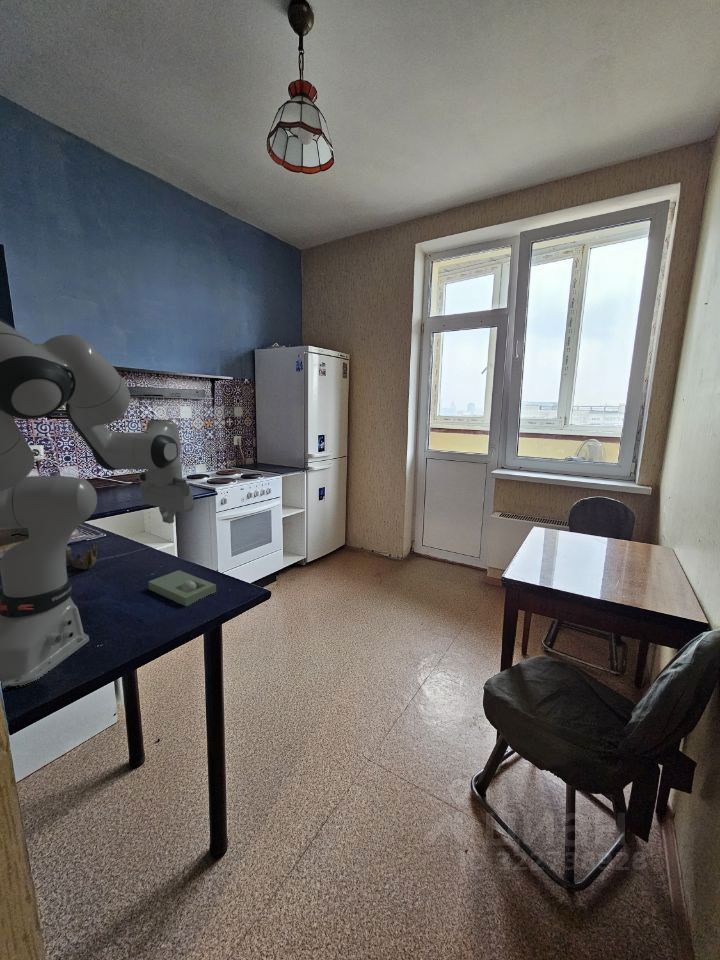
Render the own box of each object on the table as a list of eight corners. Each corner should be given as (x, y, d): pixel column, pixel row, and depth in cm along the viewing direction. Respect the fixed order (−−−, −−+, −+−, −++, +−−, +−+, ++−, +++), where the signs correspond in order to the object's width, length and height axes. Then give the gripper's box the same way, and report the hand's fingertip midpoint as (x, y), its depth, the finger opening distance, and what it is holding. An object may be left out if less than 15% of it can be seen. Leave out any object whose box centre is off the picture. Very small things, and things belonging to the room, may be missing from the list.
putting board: (216, 592, 115) (215, 584, 115) (186, 606, 107) (185, 598, 106) (179, 577, 124) (178, 570, 124) (148, 589, 116) (148, 581, 116)
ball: (187, 577, 113) (180, 581, 115) (184, 590, 110) (177, 594, 112) (200, 580, 115) (193, 584, 117) (197, 593, 112) (191, 597, 115)
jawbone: (73, 565, 120) (68, 535, 122) (66, 578, 129) (61, 550, 132) (108, 558, 127) (102, 530, 129) (99, 571, 136) (94, 545, 139)
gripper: (198, 478, 109) (200, 525, 111) (155, 471, 119) (158, 515, 122) (177, 481, 104) (180, 531, 106) (135, 474, 114) (138, 519, 116)
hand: (168, 522), depth 114 cm, fingers closed
